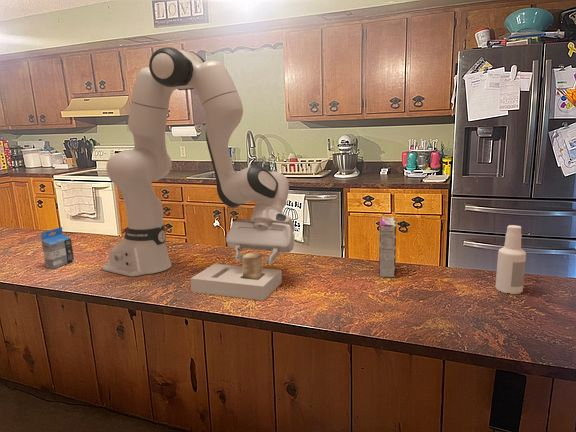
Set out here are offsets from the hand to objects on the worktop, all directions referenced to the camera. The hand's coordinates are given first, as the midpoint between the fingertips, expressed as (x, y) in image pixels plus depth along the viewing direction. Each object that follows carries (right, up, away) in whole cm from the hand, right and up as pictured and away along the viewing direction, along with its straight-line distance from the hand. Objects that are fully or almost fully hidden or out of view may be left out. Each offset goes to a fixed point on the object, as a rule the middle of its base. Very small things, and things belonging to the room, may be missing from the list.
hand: (253, 261), depth 127 cm
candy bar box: (+41, -5, +14) cm, 43 cm away
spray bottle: (+71, -8, -3) cm, 71 cm away
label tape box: (-68, -4, +27) cm, 73 cm away
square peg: (0, -8, +1) cm, 8 cm away
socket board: (-5, -8, +2) cm, 9 cm away
